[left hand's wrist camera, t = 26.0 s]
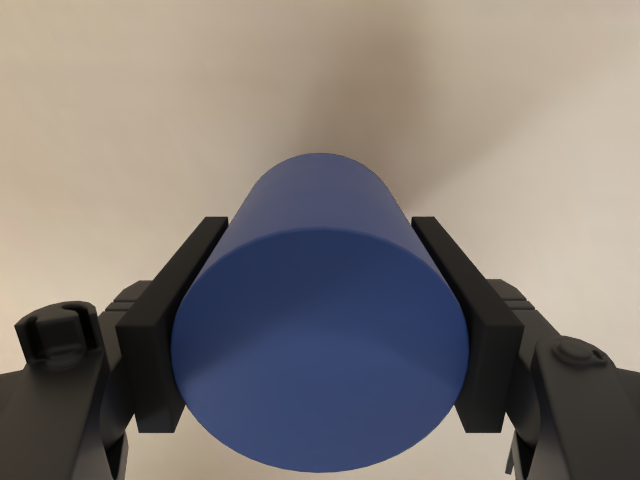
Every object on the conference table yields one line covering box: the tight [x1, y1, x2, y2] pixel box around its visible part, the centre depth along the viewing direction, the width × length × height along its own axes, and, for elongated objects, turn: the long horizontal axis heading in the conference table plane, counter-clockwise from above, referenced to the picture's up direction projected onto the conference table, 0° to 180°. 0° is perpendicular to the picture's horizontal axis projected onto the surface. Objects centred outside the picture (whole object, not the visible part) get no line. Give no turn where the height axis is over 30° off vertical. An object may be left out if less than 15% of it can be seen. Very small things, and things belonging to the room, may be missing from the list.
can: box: [170, 153, 470, 473], centre depth 12 cm, size 6×6×8 cm
